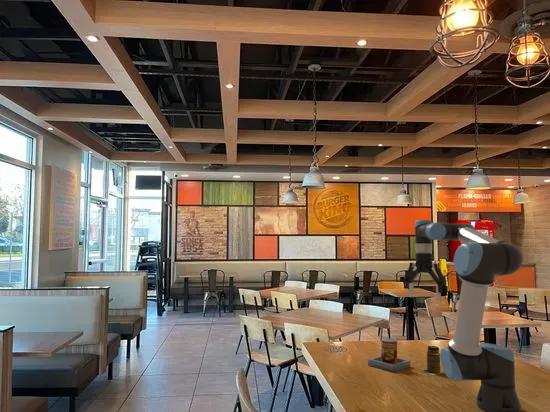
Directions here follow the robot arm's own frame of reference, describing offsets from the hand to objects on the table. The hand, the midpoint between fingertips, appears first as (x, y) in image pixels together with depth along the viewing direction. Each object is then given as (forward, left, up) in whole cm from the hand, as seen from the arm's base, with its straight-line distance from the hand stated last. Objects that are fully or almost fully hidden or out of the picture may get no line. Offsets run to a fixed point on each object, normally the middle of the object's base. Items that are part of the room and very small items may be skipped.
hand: (424, 298), depth 194 cm
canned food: (+5, +23, -36) cm, 43 cm away
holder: (+5, +23, -37) cm, 44 cm away
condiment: (+13, +4, -37) cm, 39 cm away
